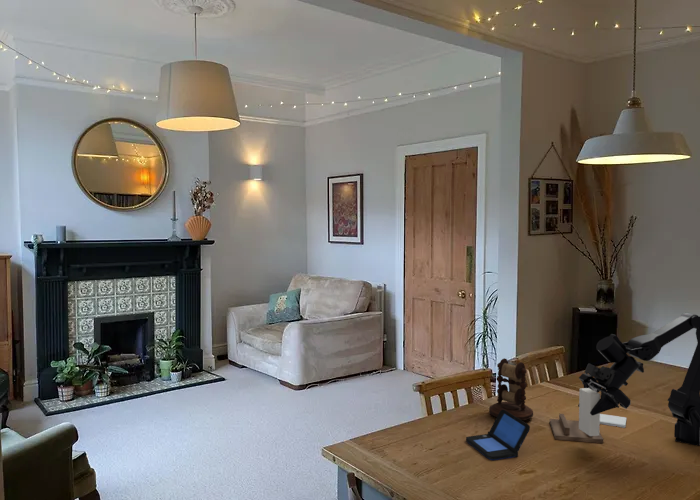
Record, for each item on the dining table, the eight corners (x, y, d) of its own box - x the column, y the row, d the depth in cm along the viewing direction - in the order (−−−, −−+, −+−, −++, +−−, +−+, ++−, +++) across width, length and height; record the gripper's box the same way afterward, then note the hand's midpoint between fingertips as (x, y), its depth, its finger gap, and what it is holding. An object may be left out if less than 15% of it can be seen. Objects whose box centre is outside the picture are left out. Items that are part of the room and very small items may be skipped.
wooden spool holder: (541, 417, 197) (542, 360, 196) (516, 428, 188) (517, 368, 187) (505, 406, 209) (506, 353, 207) (480, 416, 199) (481, 359, 198)
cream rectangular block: (587, 428, 174) (588, 387, 173) (599, 435, 168) (600, 394, 167) (578, 428, 174) (579, 388, 173) (590, 436, 168) (590, 394, 167)
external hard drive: (625, 429, 188) (584, 423, 193) (626, 421, 195) (587, 415, 201) (625, 425, 187) (584, 418, 193) (626, 417, 195) (587, 411, 201)
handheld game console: (464, 441, 178) (464, 412, 177) (501, 436, 181) (502, 408, 181) (490, 462, 163) (491, 430, 162) (531, 456, 166) (531, 425, 166)
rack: (593, 425, 190) (594, 414, 189) (603, 443, 175) (603, 431, 175) (549, 422, 193) (549, 411, 192) (555, 439, 178) (555, 428, 178)
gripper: (585, 347, 179) (551, 383, 178) (622, 362, 161) (585, 403, 160) (607, 371, 181) (574, 407, 180) (646, 388, 163) (610, 428, 162)
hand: (585, 410), depth 170 cm, fingers closed on cream rectangular block, 6 cm apart
